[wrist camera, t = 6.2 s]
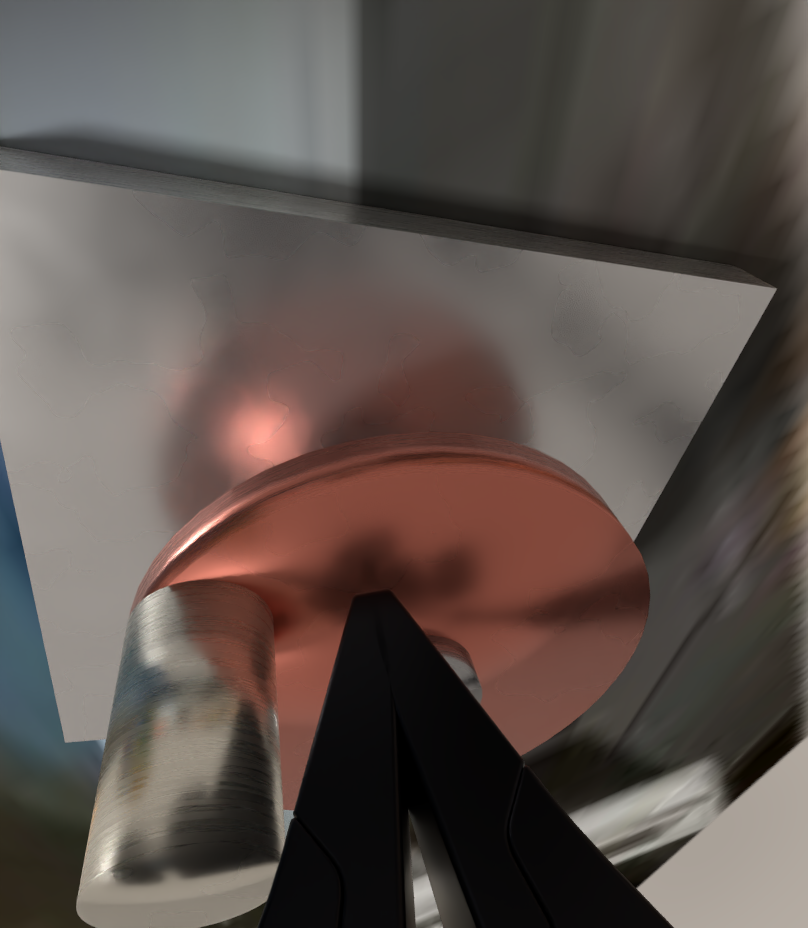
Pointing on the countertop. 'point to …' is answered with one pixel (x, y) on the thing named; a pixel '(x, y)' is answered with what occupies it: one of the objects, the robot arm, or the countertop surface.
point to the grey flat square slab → (305, 364)
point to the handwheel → (318, 638)
